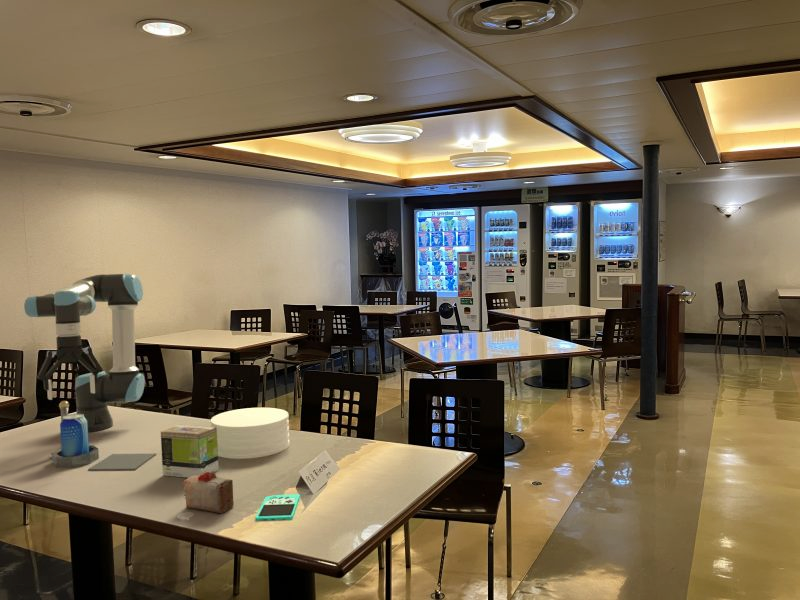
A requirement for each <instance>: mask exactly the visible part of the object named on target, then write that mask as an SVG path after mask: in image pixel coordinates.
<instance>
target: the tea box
mask: <svg viewBox="0 0 800 600" xmlns="http://www.w3.org/2000/svg"><path fill="white" fill-rule="evenodd" d="M160 445H161V447H160V448H161V463H162V464H161V465H162V466H161V467H162V475H163V476H168V477H169V476H170V477H177V478H186V479H187V478H189V477H191V476H195V475H198V476H201V475H203V474H204V473H207V472H209V473H212V472H213V470H214V473H215V472H217V471H219V456H218V444H217V427H214V426H212V425H195V424H194V425H193V424H178V425H175V426H172V427H170V428H166V429H164V430H162V431H160Z"/></svg>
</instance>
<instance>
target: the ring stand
mask: <svg viewBox="0 0 800 600" xmlns="http://www.w3.org/2000/svg"><path fill="white" fill-rule="evenodd" d="M58 407H59V410H60V421H61V422H62V420H63V417H64V416H67V415H69V407H70V403H69V401H67V400H61V401H60V403H59V404H58ZM61 422H60V423H61ZM99 459H100V454H99V448H98V447H96V446H95V445H94V444H92V445H89V452H88V453H85V454H81V455H76V456H62V449H61V448H59V449H57V450H55V451H53V452H51V460H52V465H54V466H55V468H57V469H58V468H76V467H80V466H85V465H89V464H92V463H93V462H95V461H97V460H99Z"/></svg>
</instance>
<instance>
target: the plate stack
mask: <svg viewBox="0 0 800 600" xmlns="http://www.w3.org/2000/svg"><path fill="white" fill-rule="evenodd" d="M289 414H290V413H289V412H288V411H286V410H284V409H282V408H281V409H280V408H273V407H250V408H249V407H247V408H240V409H232V410H228V411H224V412H221V413H218V414H216V415H214V416H212V417H211V419H210V426H214V427H217V444H218V458H219V457H220V458H226V459H232V460H233V459H235V460H238V459H239V460H242V459H243V460H245V459H256V458H262V457H268V456H271V455H275V454H279V453H280V452H283V451H284V450H286V449H287V448H288V447H289V446H290V443H291V442H290V433H289V432H290V426H289V424H290V420H289V418H290V417H289V416H290V415H289Z"/></svg>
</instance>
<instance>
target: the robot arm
mask: <svg viewBox="0 0 800 600" xmlns="http://www.w3.org/2000/svg"><path fill="white" fill-rule="evenodd" d="M143 295H144V291H143V285H142V282H141V280H140V278H139V277H138V276H137V274H133V273H117V274H116V273H115V274H113V273H112V274H96V275H95V274H94V275H91V276H87V277H84V278H82V279H79V280H76V281H75V282H73V283H72V285H70V286H68V287H64V288H62V289H59V290H56V291H54V292H53V291H52V292H49V293H47V294H44V295H35V296H28V297H26V299H25V300H24V305H23V307H24V308H23V309H24V313H25V314H26V315H27V316H28V317H30V318H46V317H48V318H50V317H51V318H52V317H55V334H56V335H57V336H56V350H55V351H53V350H52V351H51V350H47V351H46V355H45V360H44V362H43V363H42V365H41V367H40V369H39V372H38V374H37V375H36V378H37V379H38V380H40V381H42V382H43V389H44V390H45V391H46V392H47V399H48V400H49V401H50V400H51V401H52V400H53V388H52V379H51V377H52V376H53V375H54V373H56V371H57V370H58V369H59V367H60V366H61V365H62V364H63V363H65V364H67V363H70V362H71V363H76V362H77V361H78V362H79V363H81V365H82V366H83V367H85V368H86V369H87V370H88V371H89V373H85V374H81V375H78V376H77V377H76V378H75V381H74V383H75V386H74V389H75V403H76V413H75V414H84V417H85V418H86V420H87V425H88V433H89V432H98V431H102V430H106V429H109V428H111V427H113V426H114V422H113V421H114V420H113V417H112V414H111V413H110V410H109V407H108V403H130V402H137V401H139V400H140V399H141V397H142V396H143V393H144V389H145V386H146V385H145V384H146V383H145V381H146V379H145V375H144V374H142V373H140V368H138V367H137V366H136V343H135V342H136V341H135V340H136V338H135V337H136V336H135V309H136V308H137V307H138V305H139V303H138V302H140V301H142V300H143ZM97 303H107V307H108V308H109V309H111V323H112V325H111V330H112V331H111V332H112V333H111V335H112V368H111V369H109V372H108V373H109V374H107V372H106V371H105V370H103V368H102V366H101V365H100V363H99V361H98V360H97V358H96V357H95V355H94V353H93V349H92V347H90V346H87V347H84V348H83V346H82V335H80V334H81V332H82V330H81V329H82V328H81V317H82V316H88V315H90V314H92V313H94V311H95V309H96V307H97ZM83 353H84V354H86V355H87V357H88V358H89V360H90V362H91V363H92V364H93V366H94V367H93V366H92V365H90V363H88V361H86V360H85V359H84V358H83V357H82V355H83ZM55 355H56V356H57V359H56V361H55V362H54V364H53V365H52V366H51V367H50V369H48V368H49V366H50V364H51V361H52V359H53V358H54V357H55ZM47 370H48V371H47Z"/></svg>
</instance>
